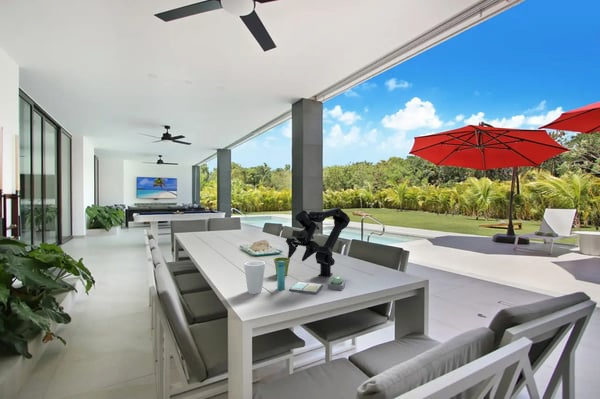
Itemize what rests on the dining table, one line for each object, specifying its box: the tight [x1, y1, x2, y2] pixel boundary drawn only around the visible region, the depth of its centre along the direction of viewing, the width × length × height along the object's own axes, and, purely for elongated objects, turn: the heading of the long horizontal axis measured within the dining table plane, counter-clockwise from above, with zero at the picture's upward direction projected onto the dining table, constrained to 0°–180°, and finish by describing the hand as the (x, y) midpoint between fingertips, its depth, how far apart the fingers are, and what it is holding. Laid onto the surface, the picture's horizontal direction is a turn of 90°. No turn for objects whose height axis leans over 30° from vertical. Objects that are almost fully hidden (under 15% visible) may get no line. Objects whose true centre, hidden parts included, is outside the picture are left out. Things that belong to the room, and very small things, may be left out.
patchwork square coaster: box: [288, 281, 324, 295], centre depth 134 cm, size 13×13×1 cm
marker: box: [276, 261, 286, 291], centre depth 133 cm, size 4×4×13 cm
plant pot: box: [273, 256, 291, 276], centre depth 157 cm, size 9×9×9 cm
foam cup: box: [243, 260, 266, 295], centre depth 130 cm, size 10×9×13 cm
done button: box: [331, 276, 342, 285], centre depth 137 cm, size 4×4×3 cm
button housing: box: [327, 279, 346, 291], centre depth 137 cm, size 7×7×2 cm
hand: (295, 259), depth 138 cm, fingers open, 9 cm apart
